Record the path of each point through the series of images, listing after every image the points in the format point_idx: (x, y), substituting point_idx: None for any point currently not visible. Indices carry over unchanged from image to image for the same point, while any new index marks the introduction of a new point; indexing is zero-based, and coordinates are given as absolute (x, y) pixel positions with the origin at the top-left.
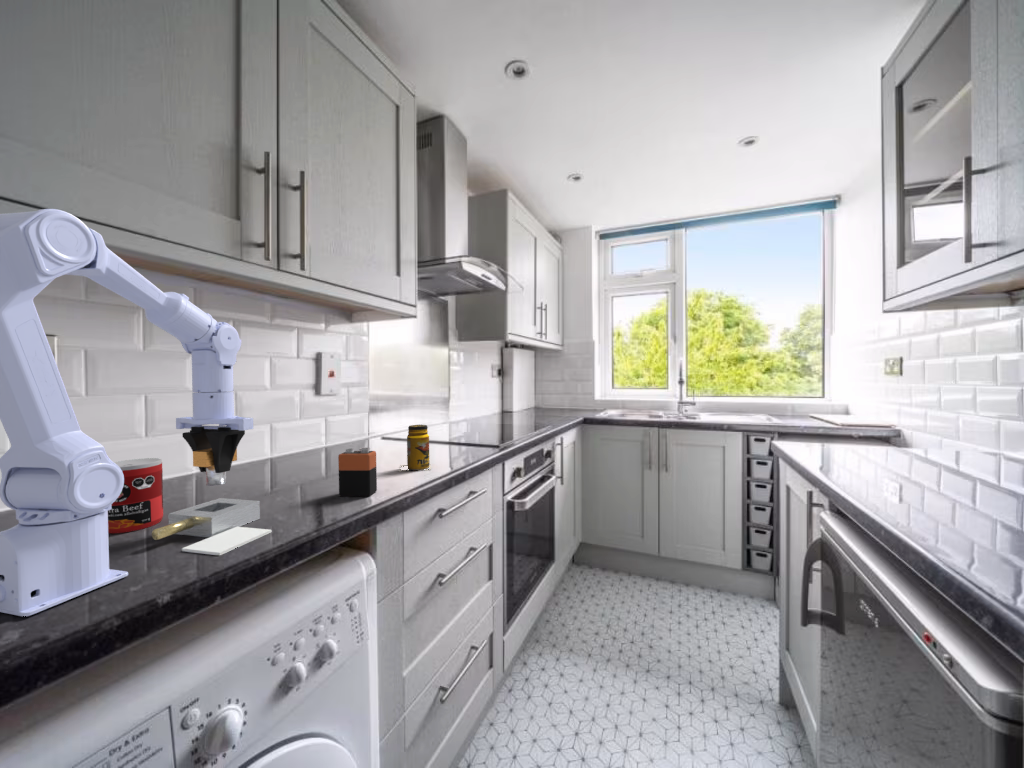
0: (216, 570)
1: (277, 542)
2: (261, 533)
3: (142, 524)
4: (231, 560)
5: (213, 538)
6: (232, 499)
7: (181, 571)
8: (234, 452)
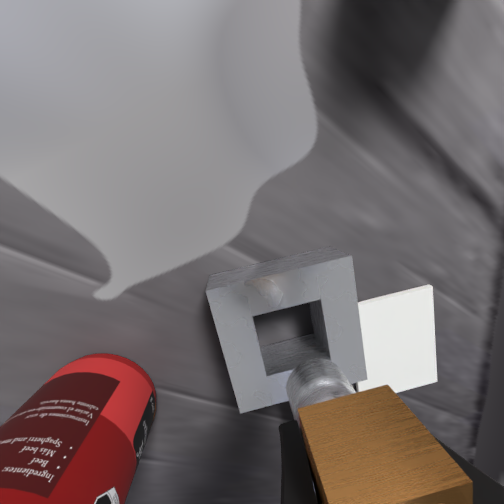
0: (472, 400)
1: (477, 307)
2: (430, 306)
3: (155, 403)
4: (464, 376)
5: (366, 359)
6: (259, 282)
7: (430, 423)
8: (486, 477)
